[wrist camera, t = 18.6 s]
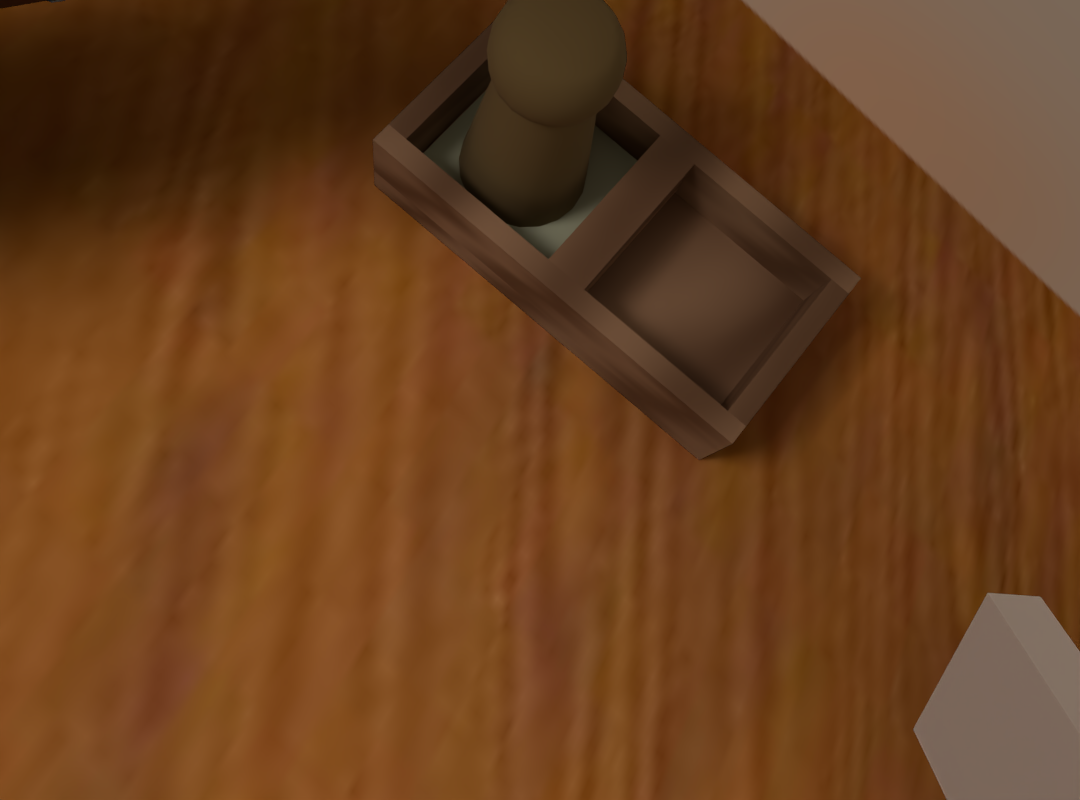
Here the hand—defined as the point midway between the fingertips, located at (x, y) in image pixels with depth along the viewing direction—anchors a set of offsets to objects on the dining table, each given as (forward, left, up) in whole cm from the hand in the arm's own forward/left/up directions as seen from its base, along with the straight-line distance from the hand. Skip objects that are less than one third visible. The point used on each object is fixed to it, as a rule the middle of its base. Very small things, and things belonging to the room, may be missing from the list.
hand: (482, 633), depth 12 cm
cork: (-10, +18, -28) cm, 35 cm away
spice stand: (-5, +19, -30) cm, 35 cm away
